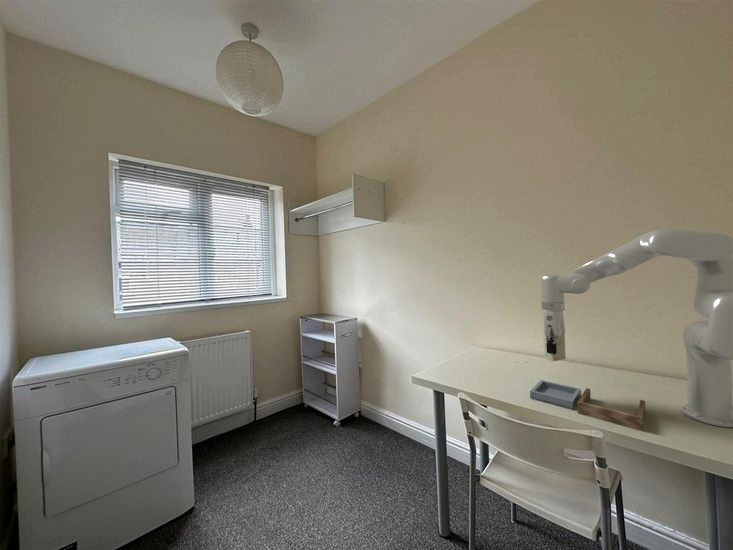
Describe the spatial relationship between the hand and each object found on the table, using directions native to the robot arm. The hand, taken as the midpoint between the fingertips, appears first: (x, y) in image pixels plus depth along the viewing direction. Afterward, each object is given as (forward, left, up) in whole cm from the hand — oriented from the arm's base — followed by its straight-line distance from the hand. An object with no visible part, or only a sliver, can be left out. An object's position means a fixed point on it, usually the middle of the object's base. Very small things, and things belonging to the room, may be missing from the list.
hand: (554, 350), depth 113 cm
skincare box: (0, 0, -4) cm, 4 cm away
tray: (0, 0, -19) cm, 19 cm away
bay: (-17, +1, -19) cm, 25 cm away
